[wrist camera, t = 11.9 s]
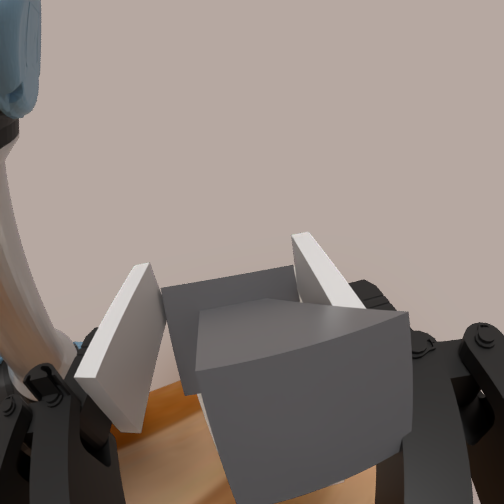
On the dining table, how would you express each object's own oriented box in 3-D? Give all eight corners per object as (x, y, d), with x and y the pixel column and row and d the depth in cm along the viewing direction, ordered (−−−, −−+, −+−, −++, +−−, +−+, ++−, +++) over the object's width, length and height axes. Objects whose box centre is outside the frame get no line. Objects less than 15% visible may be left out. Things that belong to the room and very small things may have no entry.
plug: (455, 450, 3) (450, 217, 4) (171, 553, 2) (58, 282, 3) (264, 335, 22) (253, 275, 22) (191, 350, 21) (179, 288, 21)
